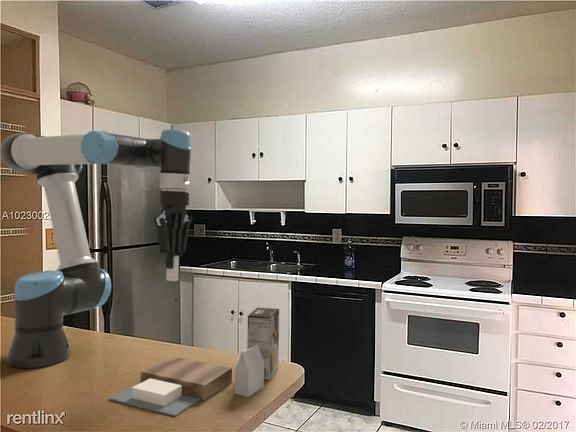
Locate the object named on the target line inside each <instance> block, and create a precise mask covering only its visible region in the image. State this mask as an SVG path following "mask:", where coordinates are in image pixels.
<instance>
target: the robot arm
mask: <svg viewBox="0 0 576 432" xmlns="http://www.w3.org/2000/svg"><path fill="white" fill-rule="evenodd" d="M160 134H161V135H160V138H144V137H136V136H129V135H123V134H117V133H112V132H108V131H104V130H103V131H102V130H90V131H88V132H87V133H86V134H83V133H82V134H70V135H69V134H67V135H52V136H50V135H49V136H46V135H40V134H39V135H37V134H31V133H15V134H12V135H9V136H8V137H6V138H5V139H4V140H3V141H2V143H1V145H0V159H1V160H2V162H3V163H4V165H6V167H8V168H9V169H11V170H12V171H14V172H17V173H19V174H26V175H27V174H28V175H35V178H36V182H37V183H36V184H38V185H39V186H41V187H43V189H44V193H45V199H46V202H47V207H48V212H49V216H50V221H51V225H52V229H53V230H52V231H53V235H54V239H55V245H56V249H57V254H58V259H59V262H60V263H59V266H58V267H57V269H56V270H44V271H35V272H32V273H28V274H25V275H23V276H21V277H19V278H18V279H17V281H16V282H15V286H14V294H13V298H14V335H13V338H12V341H11V344H10V347H9V350H8V352H7V356H6V357H7V358H6V362H8V363H7V365H8V364H9V365H8V366H10V365H11V366H10V367H12V366H14V367H13V368H17V369H18V368H19V369H35V368H44V367H47V366H48V367H49V366H52V365H57V364H58V363H59V364H60V363H61V362H64V361H66V360H67V359H68V358H69V357H70V356H71V354H70V353H71V347H70V344H69V342H68V339H67V336H66V333H65V331H64V325H63V324H64V316H68V315H73V314H76V313H81V312H84V311H91V310H93V309H96V308H99V307H102V306H103V305H104V304H105V303H106V302H107V301H108V299H109V297H110V295H111V291H112V282H111V281H112V280H111V278H110V275H109V273H108V272H107V271H106V270H105V269H102V268H100V266H99V262H98V260H96V259H94V258H93V257H92V255H91V251H90V247H89V242H88V238H87V233H86V228H85V224H84V219H83V215H82V210H81V206H80V201H79V196H78V192H77V188H76V187H77V186H76V184H75V183H77V181H78V179H79V178H80V177H79V174H80V173H81V171H82V169H83V165H120V166H128V167H129V166H130V167H133V168H141V169H143V168H160V169H159V170H160V171H159V173H160V174H159V189H161V190H160V192H159V205H160V206H161V207H162V208H161V211H160V215H159V216H158V217H154V218H153V221H154V224H155V226H156V232H157V241H158V248H159V254H161V255H162V256H165V269H166V273H165V274H166V279H165V280H166V281H168V282H177V281H179V267H180V256H183V255H184V253H186V250H187V249H186V248H187V244H188V239H189V238H188V236H189V231H190V225H191V224H192V221H193V217H192V216H188V214H187V213H188V212H187V208H186V207H187V206H189V205H190V192H189V191H188V190H189V189H190V175H191V174H190V173H191V172H190V171H191V170H190V169H191V165H190V164H191V155H192V154H191V153H192V152H191V151H192V145H191V134H190V132H188V131H185V130H181V129H164V130H162V131H161V133H160Z"/></svg>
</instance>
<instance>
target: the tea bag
mask: <svg viewBox="0 0 576 432" xmlns="http://www.w3.org/2000/svg"><path fill="white" fill-rule="evenodd" d="M264 383H265V379H264V361H263V358H262V356H261V353H260V350H259V345H255V346H253V347H251V348H249V349H246V350H243V351H242V352H241V351H240V356H239V360H238V361H237V364H236V366H235V368H234V394H235V395H238V396H243V397H246V398H249V397H250V396H252V395H254V394H255V393H256V392H259V391H260V390H261V389H263V388H265V387H264V386H265V384H264Z"/></svg>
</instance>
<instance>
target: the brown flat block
mask: <svg viewBox="0 0 576 432" xmlns="http://www.w3.org/2000/svg"><path fill="white" fill-rule="evenodd" d="M150 378H151V379H156V380H160V381H165V382H169V383H174V384H178V385H182V395H187V396H191V397H195V398H200V401H204V402H205V401H206V400H207V399H209V398H211V397H212V396H213V395H215V394H216V393H218V392H219V391H221V390H222V389H224V388H225V387H227V386H228V385H230V384H231V383H233V368H232V367H229V366H224V365H218V364H214V363H209V362H203V361H197V360H193V359H187V358H184V357H183V358H182V357H177V356H171V357H168V358H166V359H164V360H162V361H160V362H158V363H155V364H154V365H152V366H150V367H147V368H145V369H142V370H141V371H140V383H142V382H144V381H146V380H148V379H150ZM229 383H230V384H229Z"/></svg>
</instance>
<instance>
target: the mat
mask: <svg viewBox="0 0 576 432" xmlns="http://www.w3.org/2000/svg"><path fill="white" fill-rule="evenodd" d="M138 384H139V383H136V384H134V385H132V386H130V387H128V388H126V389H124V390H122V391H121V392H120V391H119V392H118V393H116V394H114V395H113V396H110V397H108V400H109V401H113V402H116V403H120V404H124V405H129V406H131V407H132V406H133V407H135V408H139V409H143V410H147V411H152V412H155V413H159V414H163V415H167V416H172V417H177V416H178V415H180V414H181V413H183V412H184V411H186V410H187V409H189V408H190V407H192V406H194V405H195V404H197V403H198V402H200V401H201V400H200V398H195V397H191V396H187V395H182V396H181V397H179V398H177V399H176V400H174V401H172V402H171V403H169V404H167V405H166V406H161V405H157V404H153V403H149V402H145V401H141V400H137V399H133V398H132V387H134V386H136V385H138ZM199 400H200V401H199Z"/></svg>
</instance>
